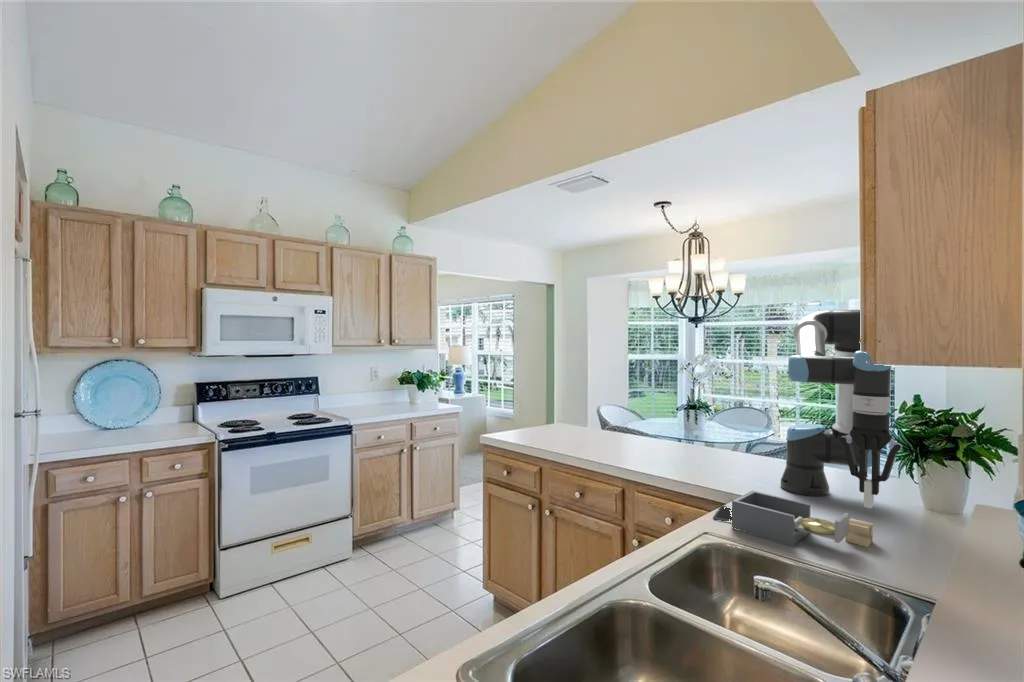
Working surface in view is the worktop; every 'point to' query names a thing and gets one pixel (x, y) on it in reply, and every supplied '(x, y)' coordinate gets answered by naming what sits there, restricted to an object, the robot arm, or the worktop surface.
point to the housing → (769, 516)
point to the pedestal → (860, 532)
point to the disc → (818, 526)
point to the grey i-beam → (840, 528)
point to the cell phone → (723, 514)
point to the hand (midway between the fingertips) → (868, 506)
